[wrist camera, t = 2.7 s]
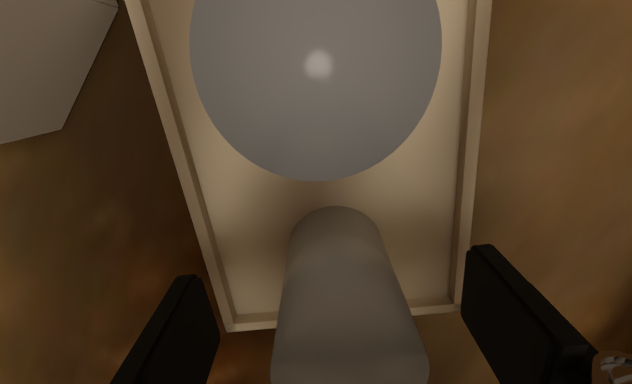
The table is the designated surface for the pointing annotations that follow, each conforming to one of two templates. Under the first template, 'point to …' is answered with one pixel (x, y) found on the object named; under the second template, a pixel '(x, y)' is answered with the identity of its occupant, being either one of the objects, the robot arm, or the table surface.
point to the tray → (307, 196)
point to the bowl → (46, 60)
